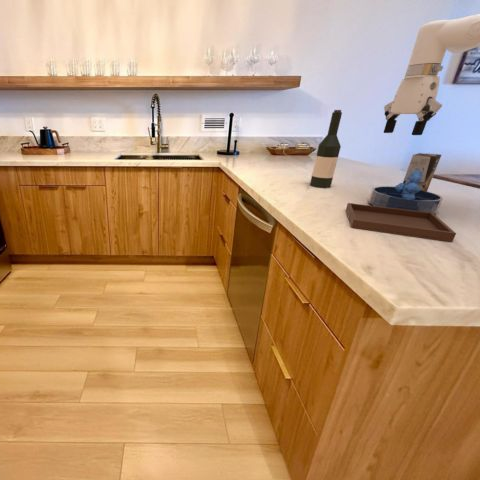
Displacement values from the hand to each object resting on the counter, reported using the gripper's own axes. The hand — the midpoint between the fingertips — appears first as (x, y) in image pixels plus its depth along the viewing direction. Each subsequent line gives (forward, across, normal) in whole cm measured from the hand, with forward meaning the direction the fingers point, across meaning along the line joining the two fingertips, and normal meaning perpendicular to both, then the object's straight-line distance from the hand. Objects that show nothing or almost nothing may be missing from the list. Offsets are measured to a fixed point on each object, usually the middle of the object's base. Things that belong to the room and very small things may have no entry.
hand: (401, 133), depth 92 cm
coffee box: (+23, +1, -15) cm, 27 cm away
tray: (+23, -18, +14) cm, 33 cm away
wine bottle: (+23, +26, +3) cm, 35 cm away
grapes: (+23, -6, -2) cm, 23 cm away
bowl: (+23, -6, -2) cm, 24 cm away
